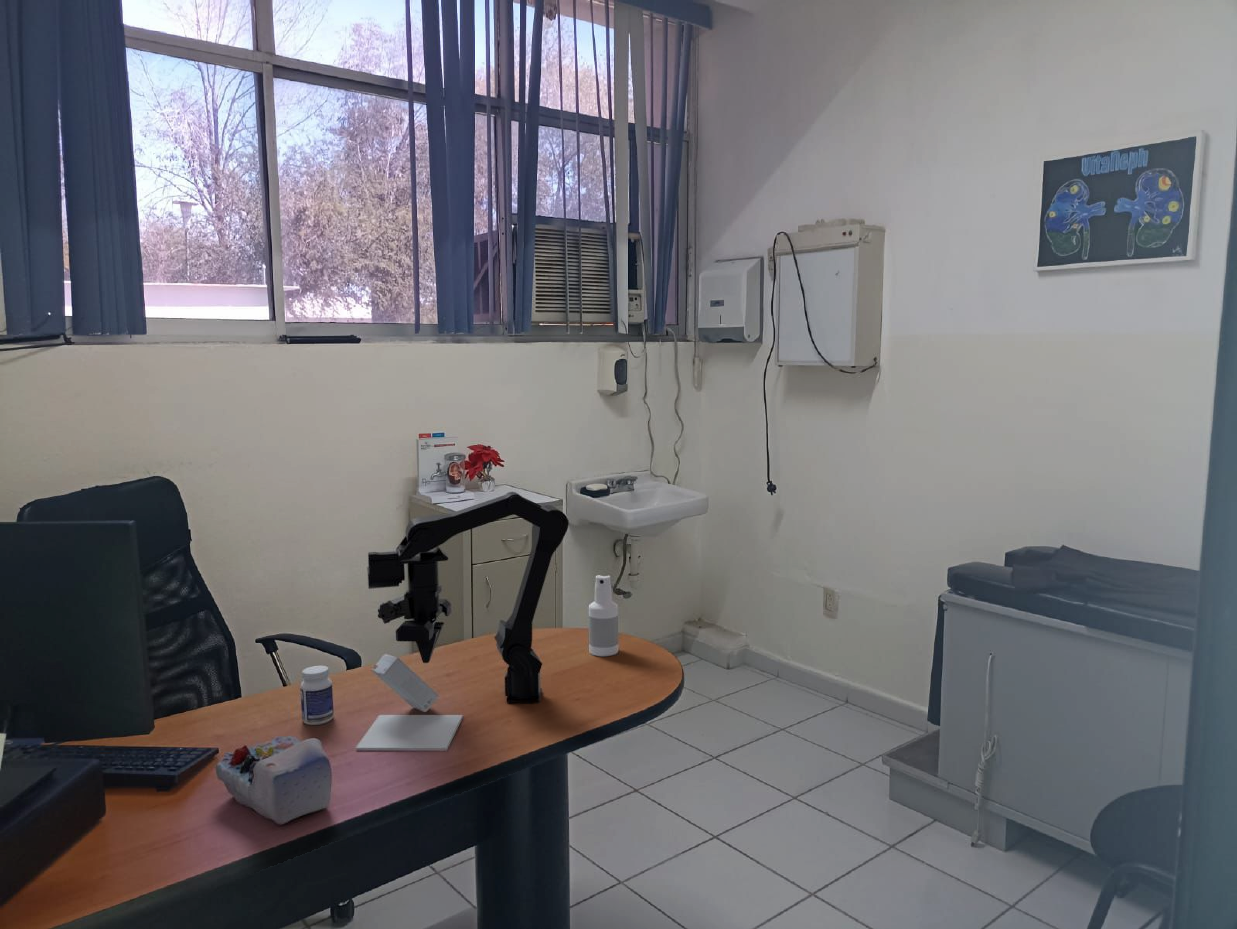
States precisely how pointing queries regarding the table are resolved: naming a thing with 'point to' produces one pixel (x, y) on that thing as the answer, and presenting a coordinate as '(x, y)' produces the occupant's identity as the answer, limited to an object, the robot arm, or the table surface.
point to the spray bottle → (603, 620)
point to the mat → (411, 733)
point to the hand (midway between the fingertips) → (426, 662)
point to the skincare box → (405, 682)
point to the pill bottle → (316, 696)
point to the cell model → (279, 777)
